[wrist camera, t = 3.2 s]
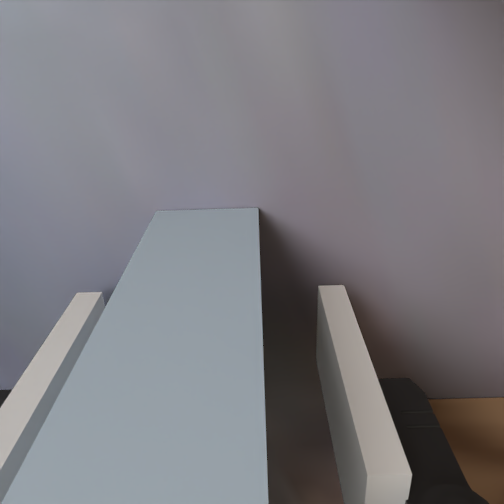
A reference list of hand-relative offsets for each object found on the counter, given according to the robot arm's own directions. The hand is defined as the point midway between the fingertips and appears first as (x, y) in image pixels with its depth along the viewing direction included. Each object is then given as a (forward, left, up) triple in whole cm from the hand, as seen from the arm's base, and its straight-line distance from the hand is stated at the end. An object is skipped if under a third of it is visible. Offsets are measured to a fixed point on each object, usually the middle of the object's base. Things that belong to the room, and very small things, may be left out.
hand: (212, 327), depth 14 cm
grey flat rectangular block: (0, -5, -1) cm, 6 cm away
